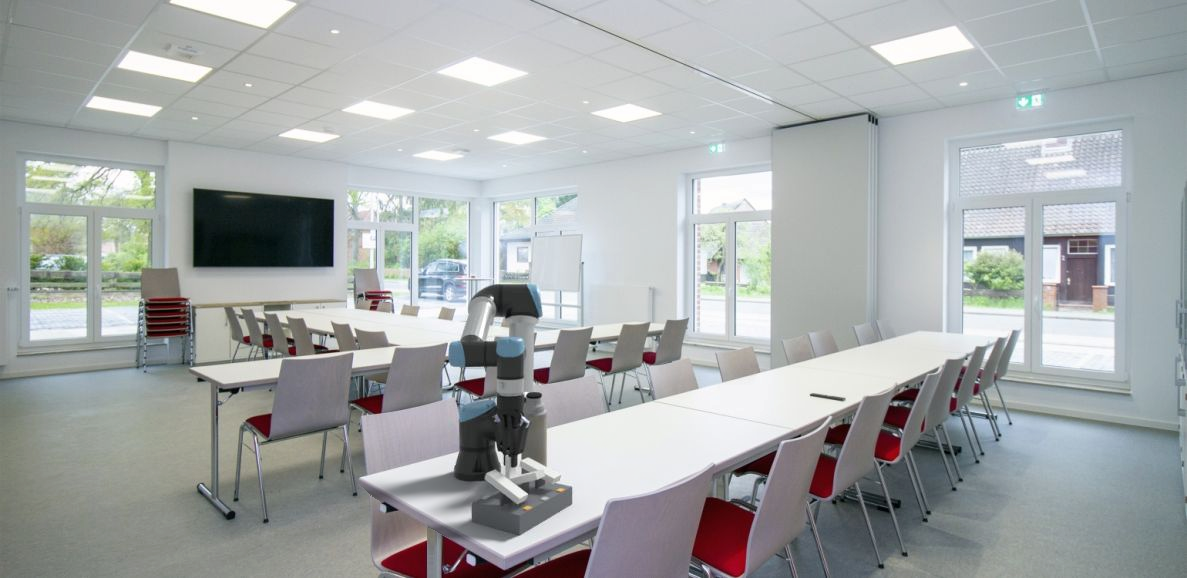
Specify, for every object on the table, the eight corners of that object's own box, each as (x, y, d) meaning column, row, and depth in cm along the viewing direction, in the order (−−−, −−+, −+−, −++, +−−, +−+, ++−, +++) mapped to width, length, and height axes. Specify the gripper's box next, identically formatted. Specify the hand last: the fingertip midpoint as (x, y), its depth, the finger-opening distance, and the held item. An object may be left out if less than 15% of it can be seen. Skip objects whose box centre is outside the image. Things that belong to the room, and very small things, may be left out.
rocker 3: (519, 466, 174) (520, 460, 173) (526, 463, 177) (528, 457, 177) (552, 484, 168) (553, 478, 168) (559, 480, 171) (561, 474, 171)
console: (471, 521, 160) (471, 491, 160) (527, 493, 180) (527, 466, 180) (519, 535, 152) (519, 503, 151) (572, 504, 172) (572, 476, 172)
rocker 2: (504, 487, 167) (502, 480, 167) (512, 483, 170) (510, 476, 170) (537, 479, 161) (535, 472, 161) (545, 475, 164) (543, 469, 164)
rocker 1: (484, 478, 161) (486, 473, 160) (493, 475, 164) (495, 469, 163) (517, 504, 155) (519, 498, 155) (526, 499, 158) (528, 494, 158)
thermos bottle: (522, 473, 195) (522, 389, 192) (547, 473, 196) (547, 389, 192) (520, 485, 187) (520, 397, 184) (546, 485, 188) (546, 397, 184)
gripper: (483, 393, 168) (483, 477, 168) (520, 398, 161) (520, 486, 161) (500, 388, 174) (501, 470, 175) (537, 393, 167) (537, 478, 168)
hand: (510, 478), depth 168 cm, fingers closed
